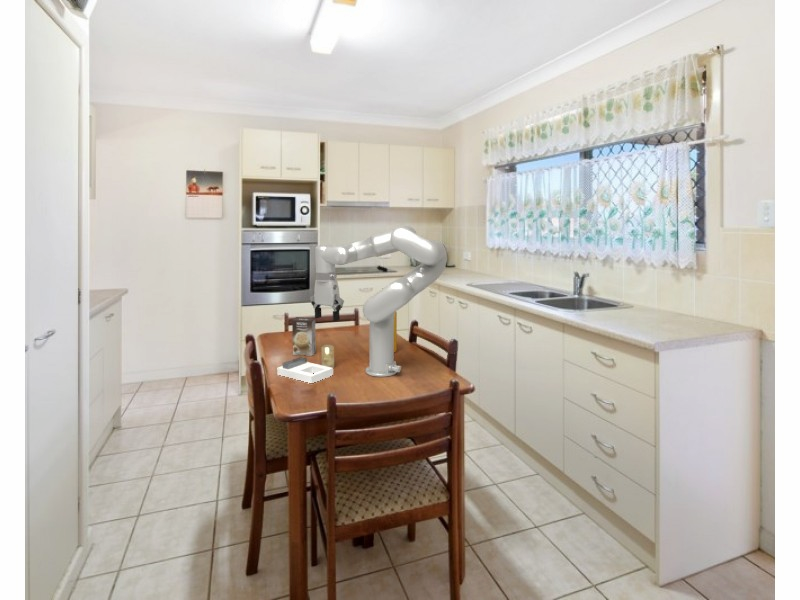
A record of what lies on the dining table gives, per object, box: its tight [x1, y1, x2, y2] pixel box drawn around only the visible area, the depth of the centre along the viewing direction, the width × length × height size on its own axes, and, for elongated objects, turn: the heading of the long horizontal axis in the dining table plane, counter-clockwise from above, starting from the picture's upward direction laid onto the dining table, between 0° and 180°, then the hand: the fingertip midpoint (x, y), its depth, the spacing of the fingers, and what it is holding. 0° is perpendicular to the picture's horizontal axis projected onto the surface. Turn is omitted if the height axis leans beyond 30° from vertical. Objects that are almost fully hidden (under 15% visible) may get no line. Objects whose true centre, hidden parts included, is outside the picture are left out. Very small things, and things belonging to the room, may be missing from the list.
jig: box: [276, 356, 334, 384], centre depth 186 cm, size 18×12×5 cm, turn 57°
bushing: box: [320, 344, 335, 369], centre depth 195 cm, size 5×5×9 cm
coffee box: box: [291, 316, 317, 357], centre depth 214 cm, size 9×6×16 cm
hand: (327, 319), depth 193 cm, fingers open, 9 cm apart
